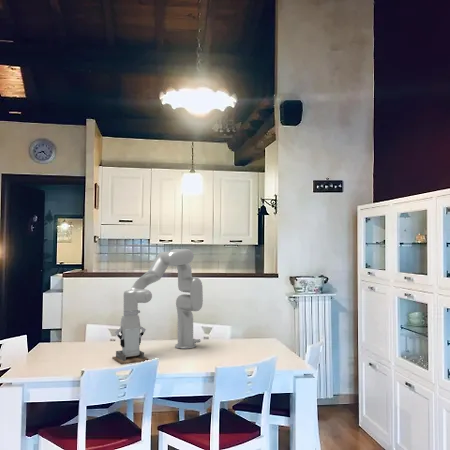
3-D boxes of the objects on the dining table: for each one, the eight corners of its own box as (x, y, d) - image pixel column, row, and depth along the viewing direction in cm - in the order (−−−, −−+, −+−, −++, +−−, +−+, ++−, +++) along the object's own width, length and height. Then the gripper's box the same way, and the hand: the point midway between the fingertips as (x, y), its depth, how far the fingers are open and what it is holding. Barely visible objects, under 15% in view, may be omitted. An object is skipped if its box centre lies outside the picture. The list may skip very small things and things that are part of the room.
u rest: (138, 355, 255) (138, 347, 255) (148, 360, 242) (148, 353, 243) (112, 358, 247) (112, 351, 248) (121, 364, 235) (121, 356, 235)
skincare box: (136, 353, 250) (136, 326, 251) (140, 355, 245) (139, 327, 245) (121, 355, 246) (121, 327, 246) (124, 357, 240) (124, 329, 241)
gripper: (143, 311, 254) (143, 342, 253) (112, 313, 245) (112, 346, 244) (148, 312, 248) (148, 345, 247) (117, 315, 239) (117, 349, 238)
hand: (130, 345), depth 245 cm, fingers closed on skincare box, 8 cm apart
